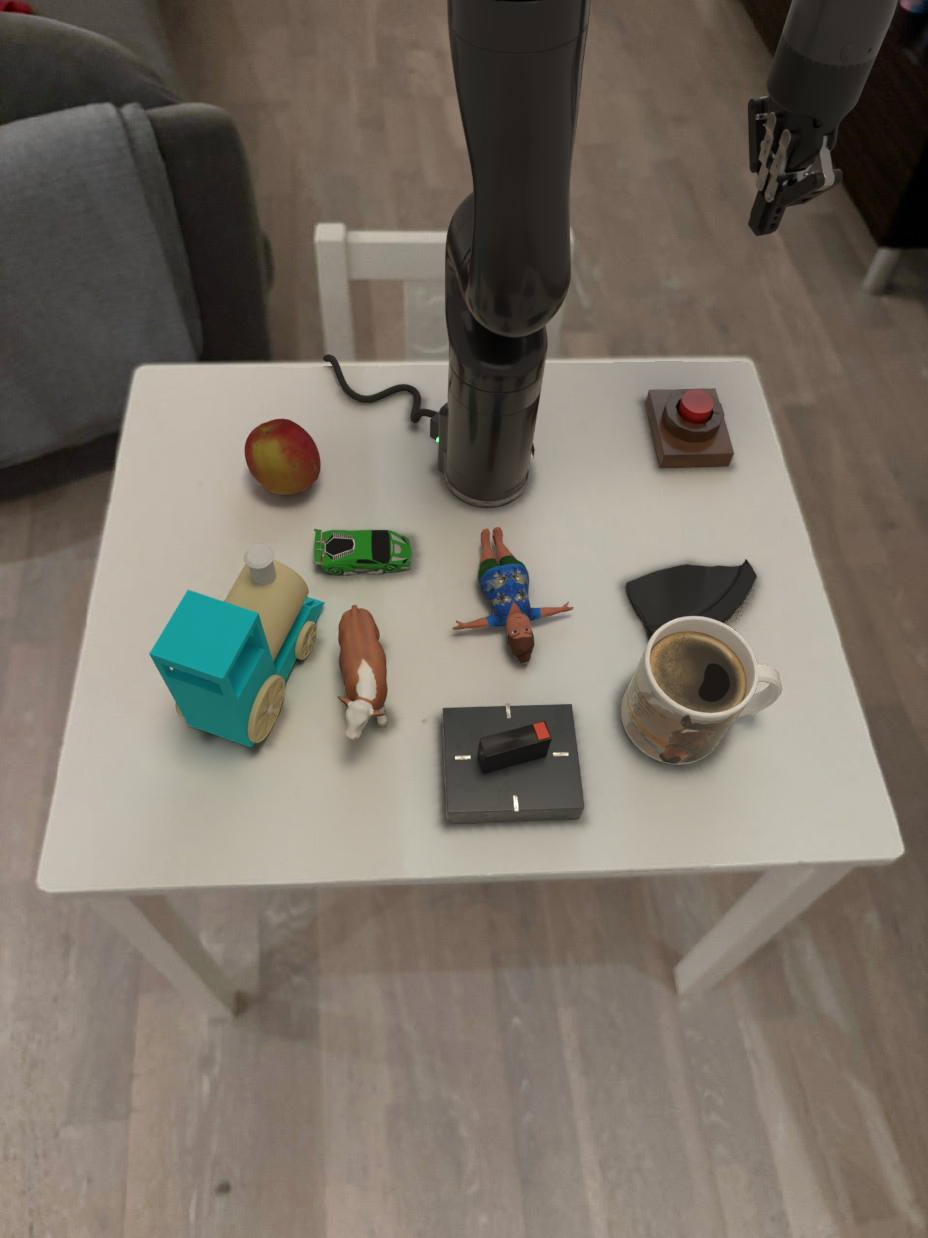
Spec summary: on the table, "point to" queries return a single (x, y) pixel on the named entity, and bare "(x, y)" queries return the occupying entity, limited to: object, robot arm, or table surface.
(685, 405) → the button
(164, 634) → the toy train
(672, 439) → the button block
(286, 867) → the table surface
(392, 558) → the toy car
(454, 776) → the dial panel
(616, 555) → the table surface
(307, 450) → the apple
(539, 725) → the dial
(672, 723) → the mug
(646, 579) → the fan shaped piece
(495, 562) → the toy character
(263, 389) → the table surface
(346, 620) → the bull figurine
